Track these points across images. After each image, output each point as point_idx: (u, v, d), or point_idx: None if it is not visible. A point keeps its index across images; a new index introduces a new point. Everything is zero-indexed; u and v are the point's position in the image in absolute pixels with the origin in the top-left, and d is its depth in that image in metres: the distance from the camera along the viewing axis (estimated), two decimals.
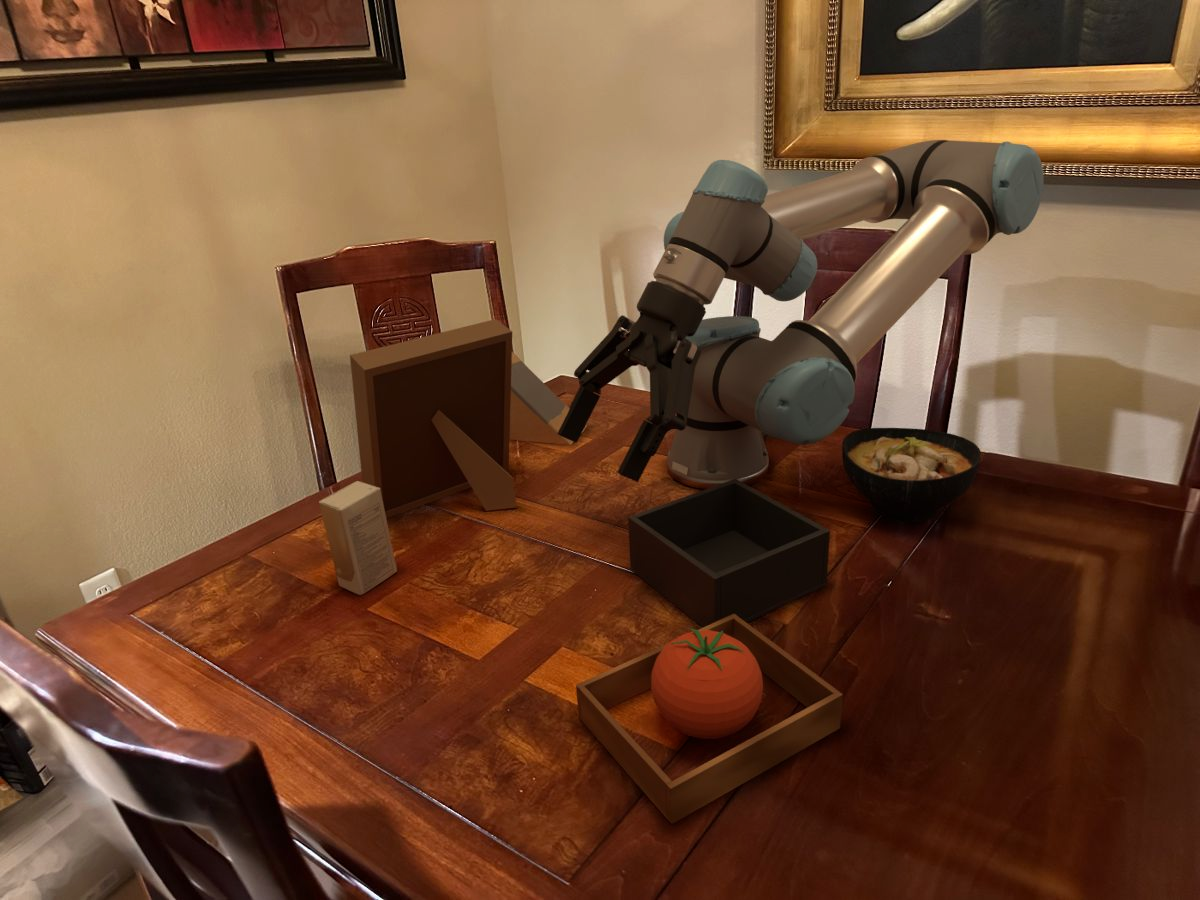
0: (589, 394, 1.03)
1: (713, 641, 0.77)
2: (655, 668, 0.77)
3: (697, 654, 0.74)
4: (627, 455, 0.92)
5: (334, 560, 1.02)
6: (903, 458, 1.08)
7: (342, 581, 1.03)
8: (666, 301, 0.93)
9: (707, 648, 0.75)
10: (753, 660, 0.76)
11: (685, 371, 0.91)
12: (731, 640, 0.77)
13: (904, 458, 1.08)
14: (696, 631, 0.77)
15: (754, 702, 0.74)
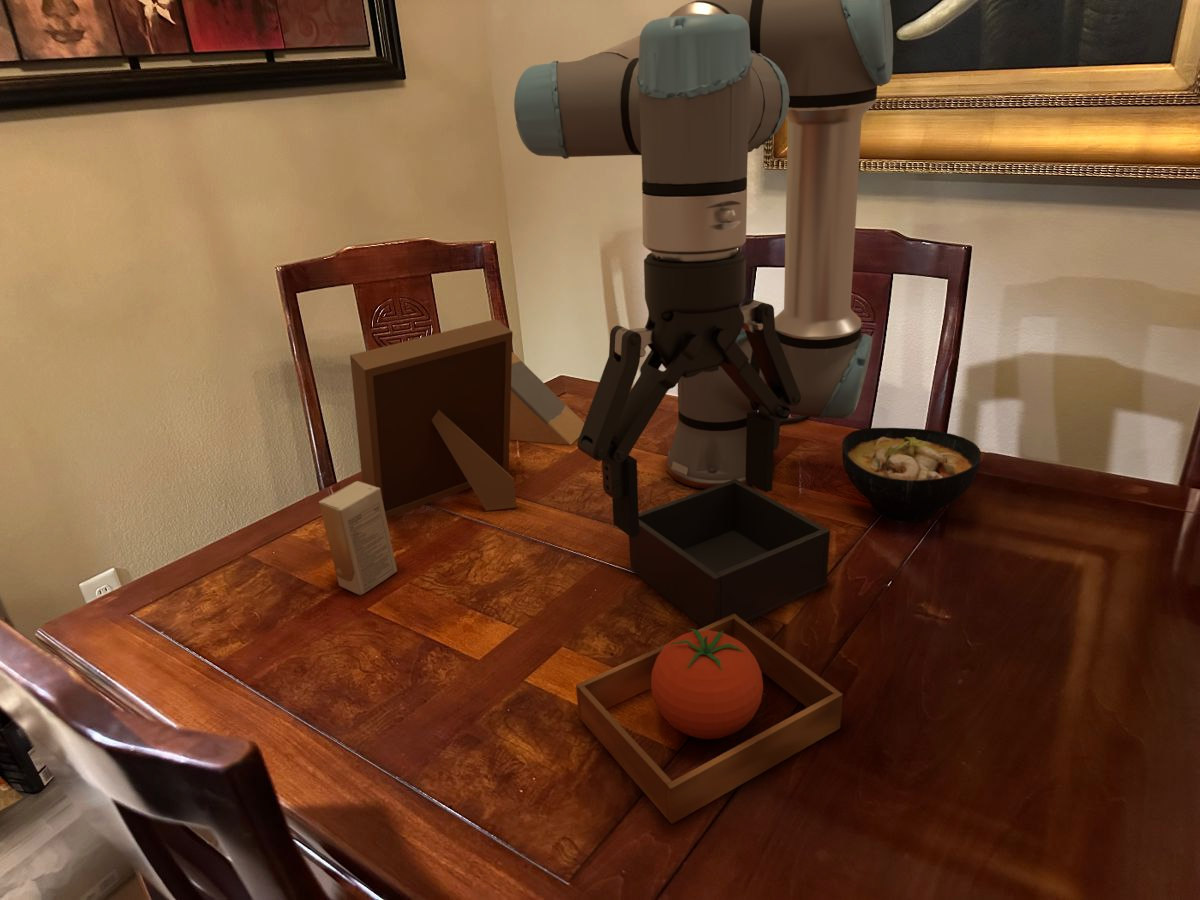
0: None
1: (713, 641, 0.77)
2: (655, 668, 0.77)
3: (697, 654, 0.74)
4: (768, 468, 0.71)
5: (334, 560, 1.02)
6: (903, 458, 1.08)
7: (342, 581, 1.03)
8: (744, 279, 0.62)
9: (707, 648, 0.75)
10: (753, 660, 0.76)
11: None
12: (731, 640, 0.77)
13: (904, 458, 1.08)
14: (696, 631, 0.77)
15: (754, 702, 0.74)
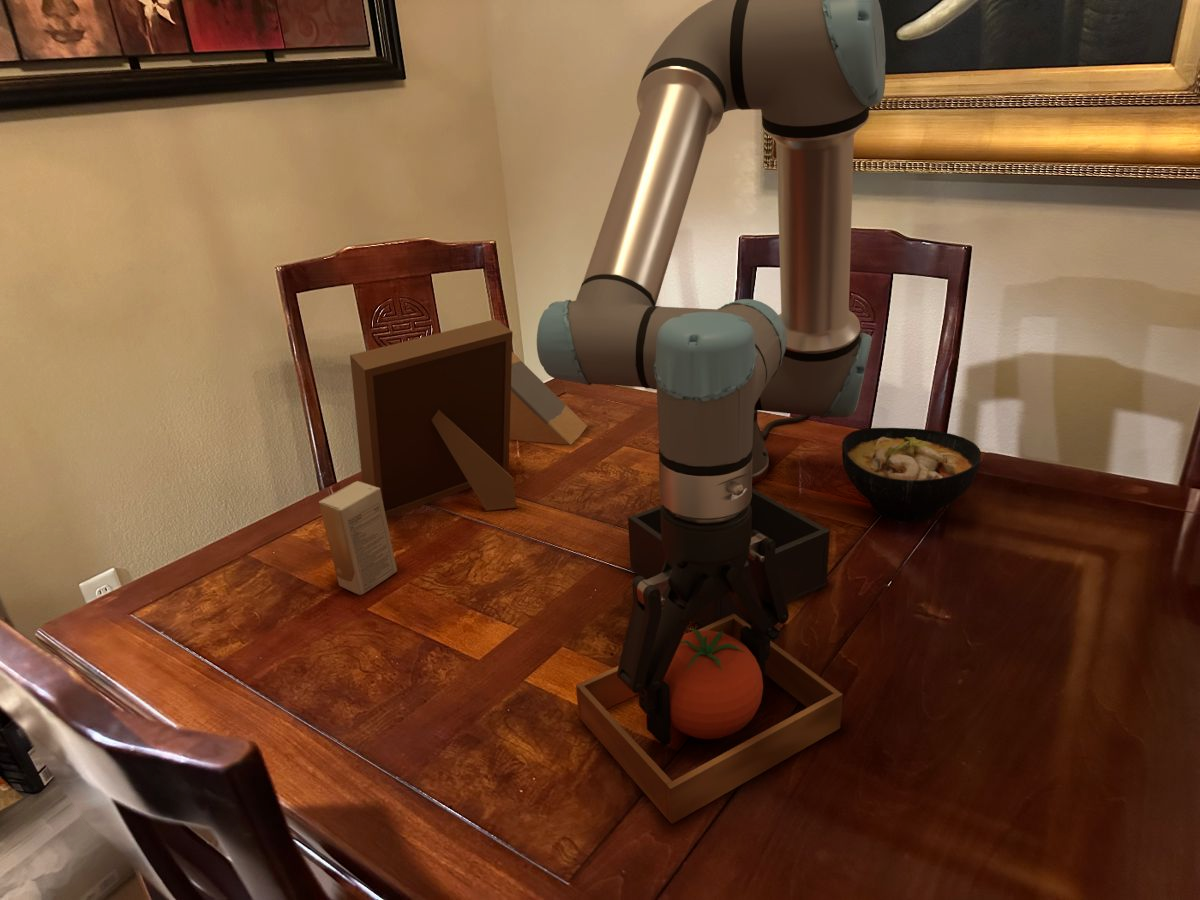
0: None
1: (713, 641, 0.77)
2: None
3: (697, 654, 0.74)
4: None
5: (334, 560, 1.02)
6: (903, 458, 1.08)
7: (342, 581, 1.03)
8: (750, 529, 0.69)
9: (707, 648, 0.75)
10: (753, 660, 0.76)
11: None
12: (731, 640, 0.77)
13: (904, 458, 1.08)
14: (696, 631, 0.77)
15: (754, 702, 0.74)
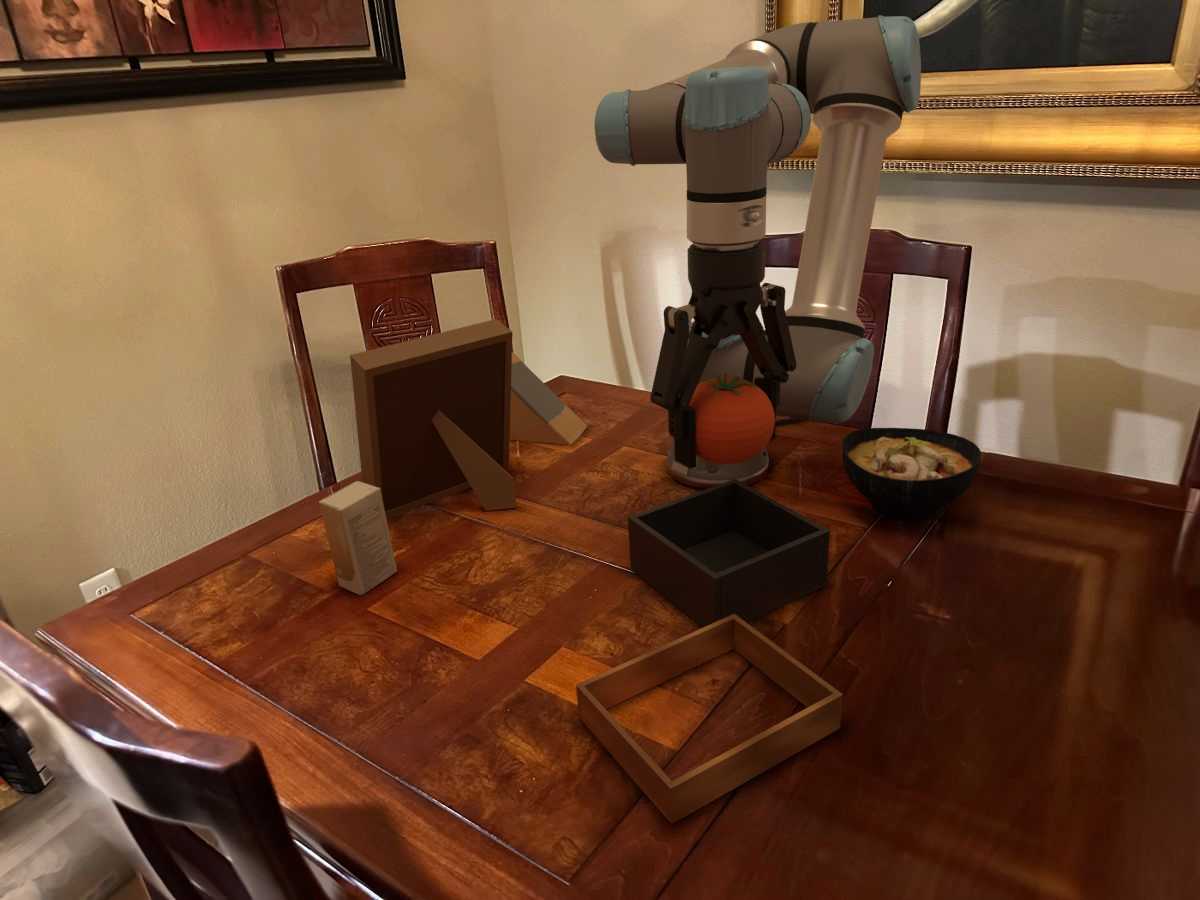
0: None
1: (731, 382, 0.89)
2: None
3: (718, 387, 0.87)
4: None
5: (334, 560, 1.02)
6: (903, 458, 1.08)
7: (342, 581, 1.03)
8: (764, 263, 0.81)
9: (726, 384, 0.87)
10: (766, 396, 0.88)
11: None
12: (747, 381, 0.89)
13: (904, 458, 1.08)
14: (717, 375, 0.89)
15: (767, 426, 0.86)
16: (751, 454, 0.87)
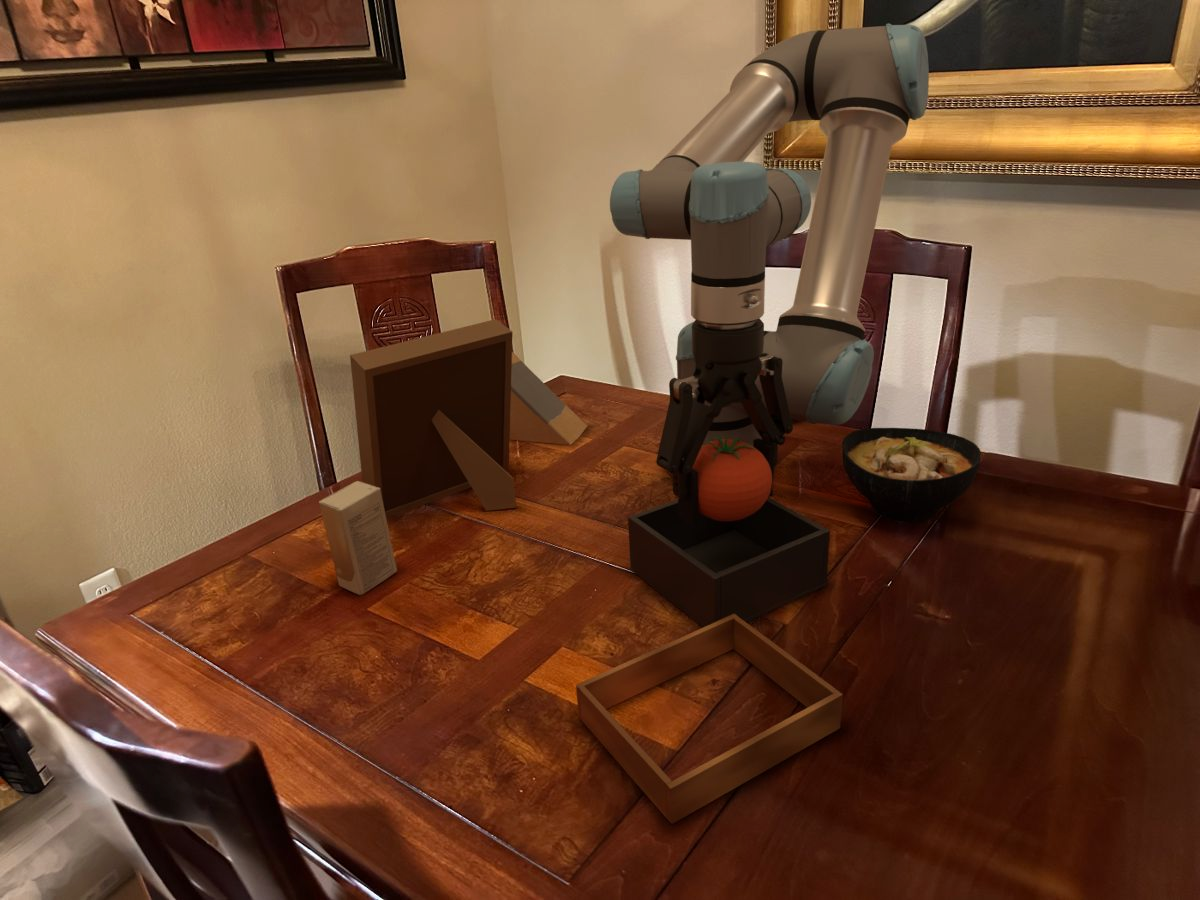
0: None
1: (732, 444, 0.95)
2: None
3: (719, 450, 0.93)
4: None
5: (334, 560, 1.02)
6: (903, 458, 1.08)
7: (342, 581, 1.03)
8: (763, 339, 0.88)
9: (727, 447, 0.94)
10: (764, 458, 0.94)
11: None
12: None
13: (904, 458, 1.08)
14: None
15: (765, 487, 0.92)
16: (750, 513, 0.93)
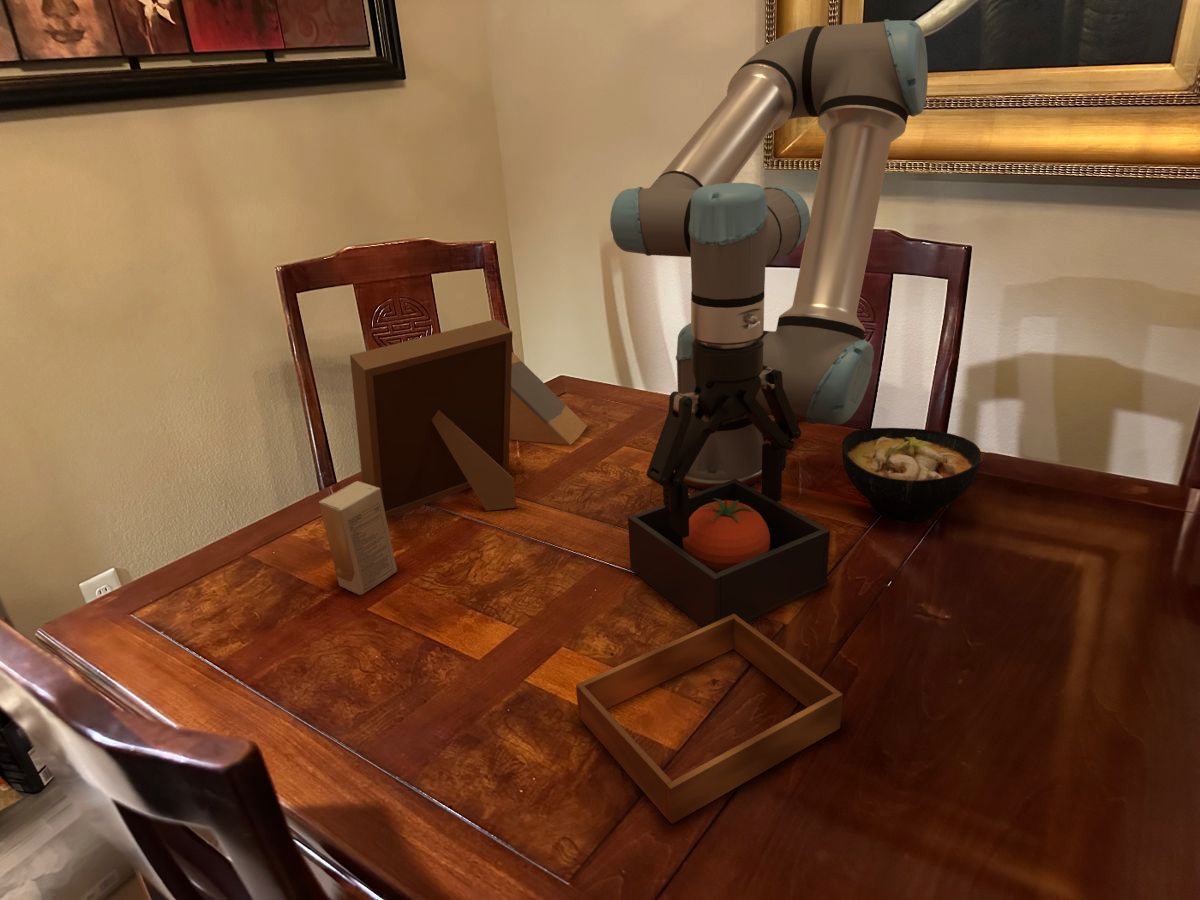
0: None
1: (731, 506, 0.98)
2: None
3: (719, 513, 0.96)
4: (778, 484, 0.99)
5: (334, 560, 1.02)
6: (903, 458, 1.08)
7: (342, 581, 1.03)
8: (762, 357, 0.88)
9: (727, 510, 0.97)
10: (762, 520, 0.98)
11: None
12: (745, 505, 0.98)
13: (904, 458, 1.08)
14: (718, 499, 0.99)
15: (763, 549, 0.96)
16: None
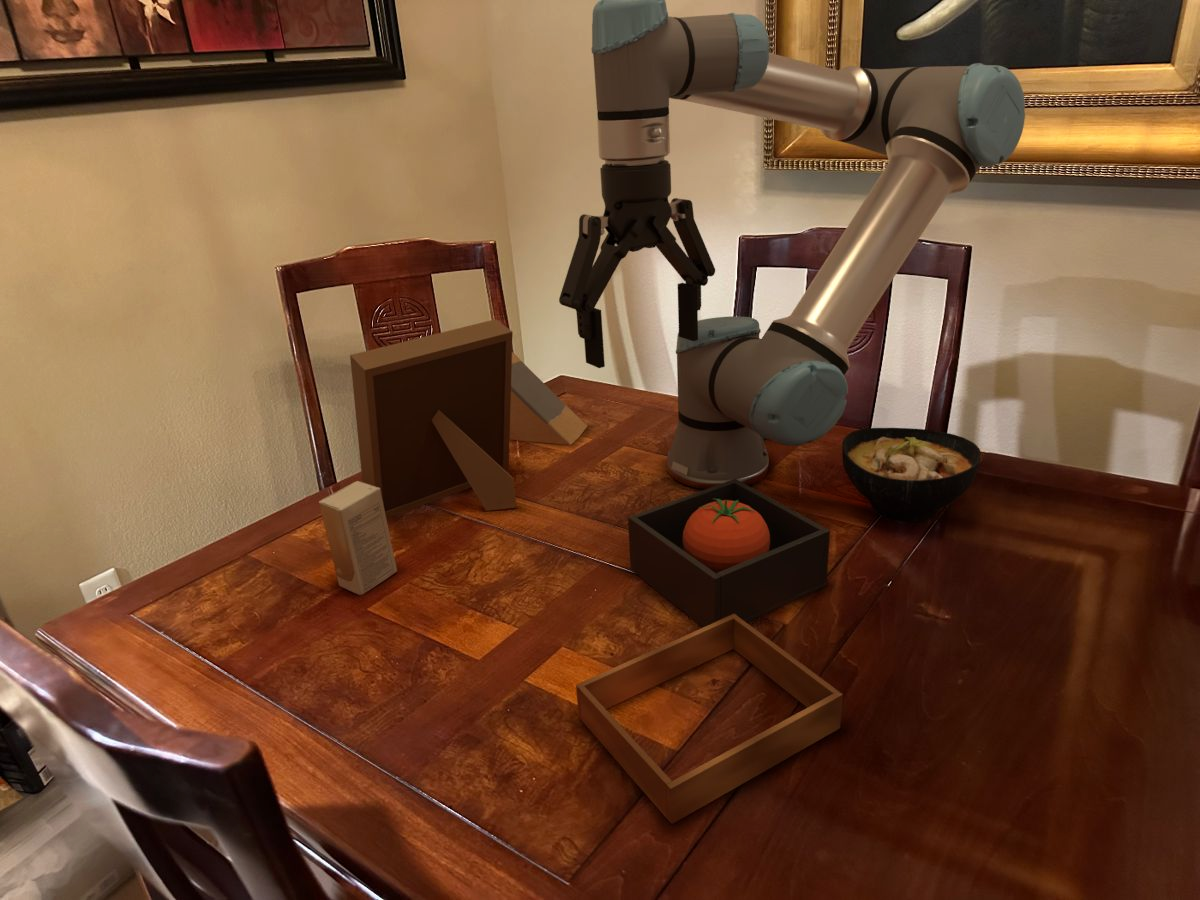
0: None
1: (731, 506, 0.98)
2: (686, 527, 0.98)
3: (719, 513, 0.96)
4: (694, 323, 1.00)
5: (334, 560, 1.02)
6: (903, 458, 1.08)
7: (342, 581, 1.03)
8: (670, 179, 0.89)
9: (727, 510, 0.97)
10: (762, 520, 0.98)
11: None
12: (745, 505, 0.98)
13: (904, 458, 1.08)
14: (718, 499, 0.99)
15: (763, 549, 0.96)
16: None
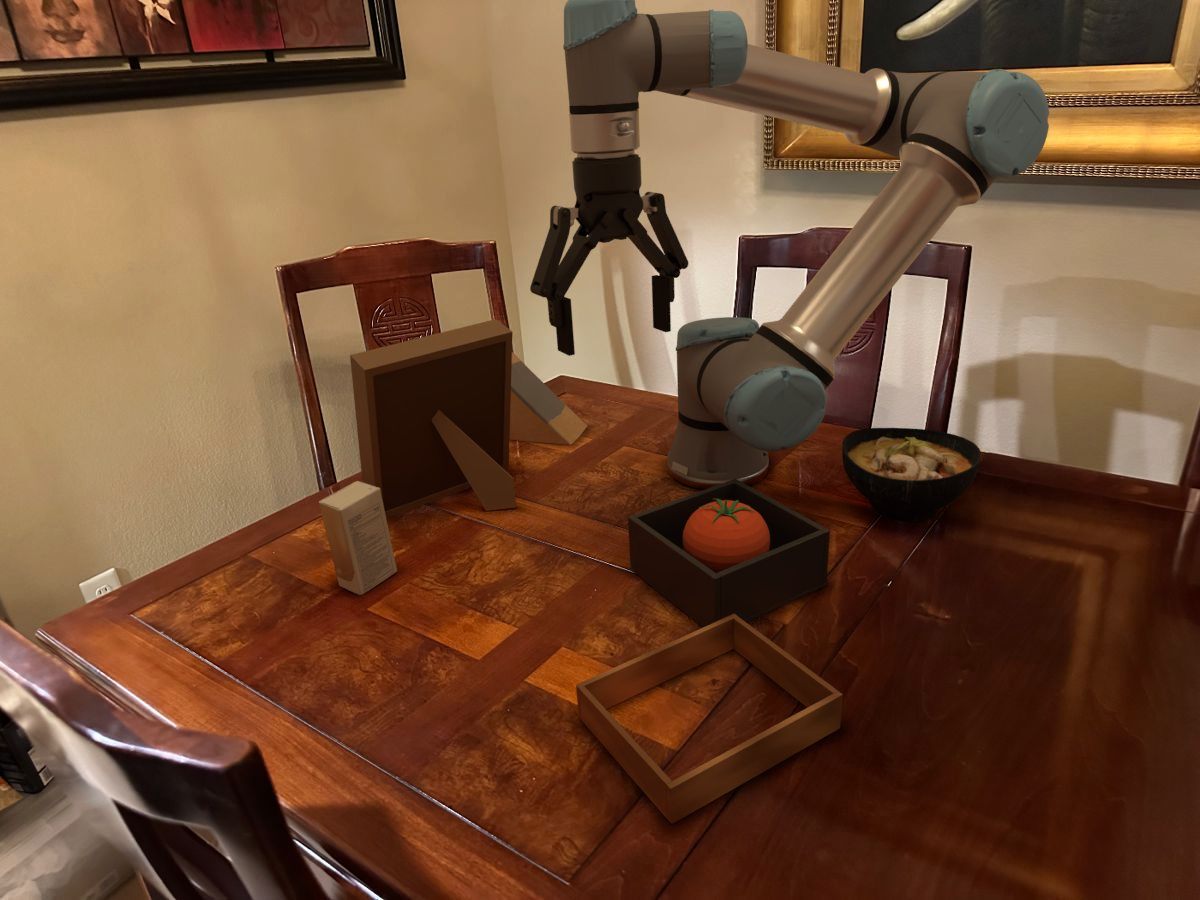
0: None
1: (731, 506, 0.98)
2: (686, 527, 0.98)
3: (719, 513, 0.96)
4: (667, 314, 1.02)
5: (334, 560, 1.02)
6: (903, 458, 1.08)
7: (342, 581, 1.03)
8: (639, 172, 0.92)
9: (727, 510, 0.97)
10: (762, 520, 0.98)
11: None
12: (745, 505, 0.98)
13: (904, 458, 1.08)
14: (718, 499, 0.99)
15: (763, 549, 0.96)
16: None
